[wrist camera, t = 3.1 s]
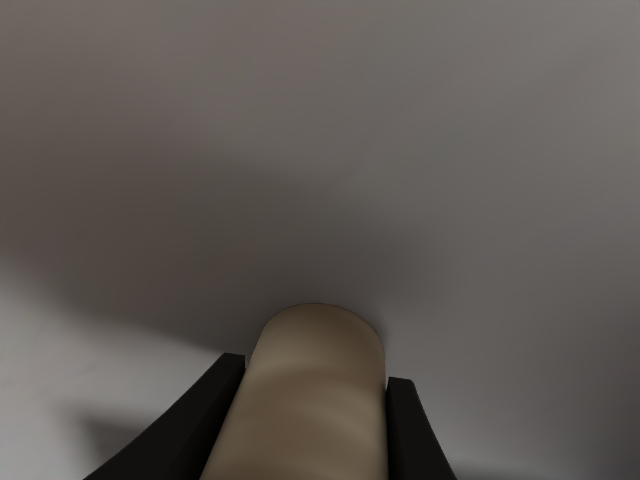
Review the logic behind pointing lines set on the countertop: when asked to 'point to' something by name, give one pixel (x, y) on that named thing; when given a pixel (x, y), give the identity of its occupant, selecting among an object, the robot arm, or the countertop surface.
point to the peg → (308, 403)
